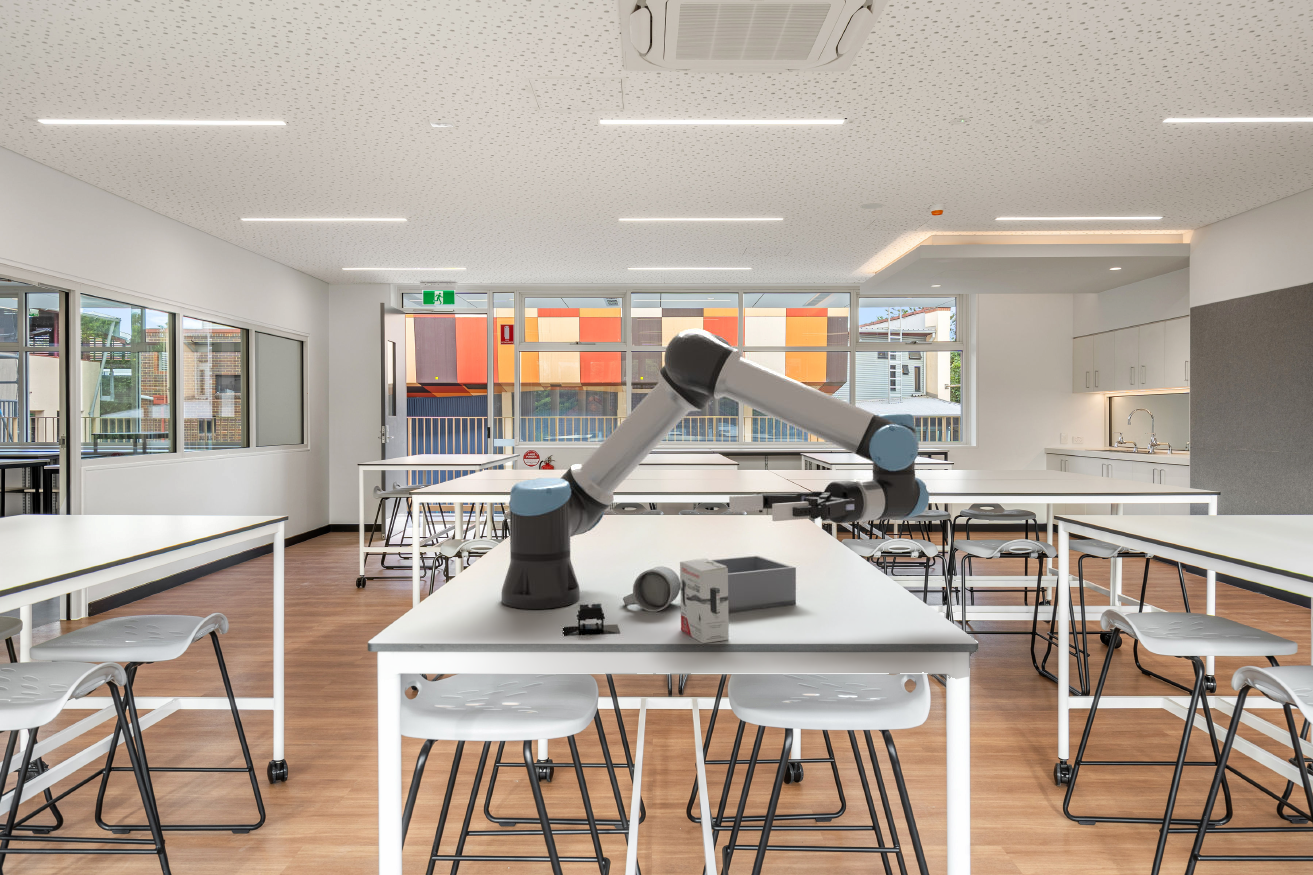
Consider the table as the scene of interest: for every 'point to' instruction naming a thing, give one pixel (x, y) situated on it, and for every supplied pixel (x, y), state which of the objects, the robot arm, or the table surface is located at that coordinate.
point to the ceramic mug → (654, 589)
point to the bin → (758, 583)
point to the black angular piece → (590, 629)
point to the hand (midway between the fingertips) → (750, 508)
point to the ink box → (704, 600)
